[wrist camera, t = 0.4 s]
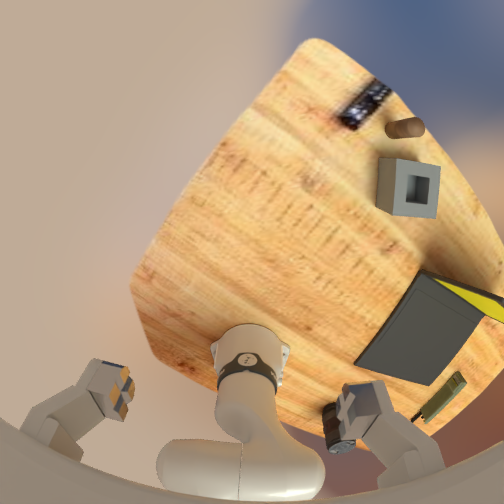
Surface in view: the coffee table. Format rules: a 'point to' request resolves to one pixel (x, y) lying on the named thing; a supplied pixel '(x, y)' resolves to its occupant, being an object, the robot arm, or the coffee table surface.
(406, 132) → the walnut peg
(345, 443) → the camera lens
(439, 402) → the handheld radio
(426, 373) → the laptop
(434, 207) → the socket block
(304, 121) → the coffee table surface
